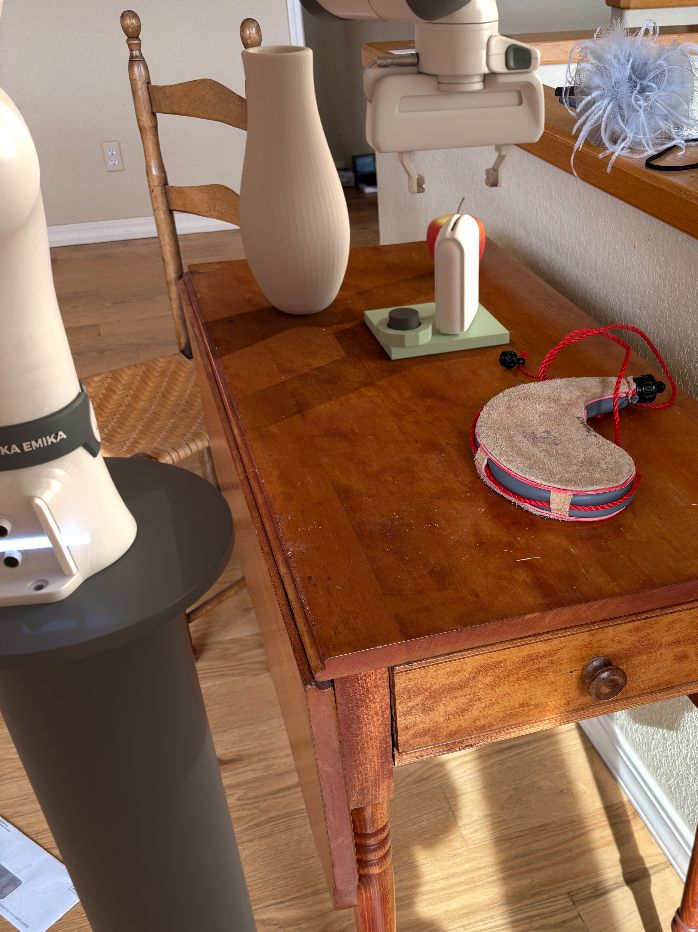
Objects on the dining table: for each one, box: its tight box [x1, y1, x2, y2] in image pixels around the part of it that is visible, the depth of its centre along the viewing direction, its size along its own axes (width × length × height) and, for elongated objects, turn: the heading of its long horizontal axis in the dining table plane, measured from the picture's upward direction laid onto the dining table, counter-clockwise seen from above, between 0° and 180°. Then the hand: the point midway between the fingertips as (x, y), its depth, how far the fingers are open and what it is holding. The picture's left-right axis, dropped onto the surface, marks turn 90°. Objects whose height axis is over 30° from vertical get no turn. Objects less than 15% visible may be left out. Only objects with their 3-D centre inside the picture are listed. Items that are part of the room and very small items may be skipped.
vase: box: [238, 44, 351, 316], centre depth 115 cm, size 14×14×30 cm
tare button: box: [389, 308, 419, 331], centre depth 111 cm, size 4×4×2 cm
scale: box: [363, 301, 510, 361], centre depth 116 cm, size 16×13×3 cm
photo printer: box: [434, 213, 480, 334], centre depth 113 cm, size 10×4×12 cm, turn 168°
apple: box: [426, 196, 486, 265], centre depth 132 cm, size 8×8×10 cm
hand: (455, 189), depth 108 cm, fingers open, 8 cm apart
